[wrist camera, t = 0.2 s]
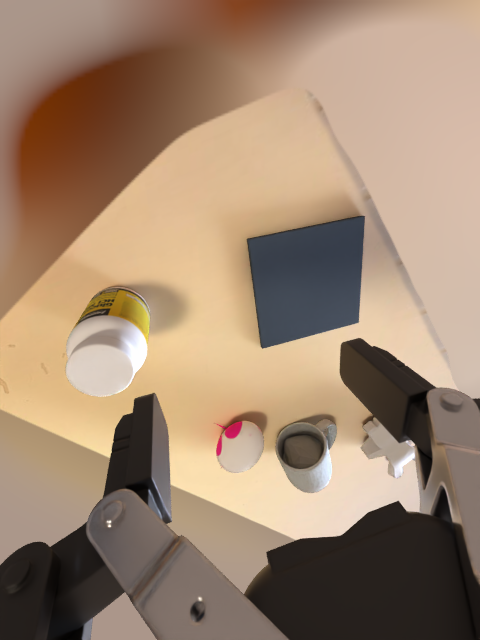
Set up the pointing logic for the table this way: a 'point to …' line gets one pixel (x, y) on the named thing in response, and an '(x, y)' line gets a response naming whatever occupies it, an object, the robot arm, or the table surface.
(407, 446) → the bunny figurine
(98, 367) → the pill bottle
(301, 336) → the mat
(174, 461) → the table surface
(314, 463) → the ceramic mug
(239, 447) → the stress ball
